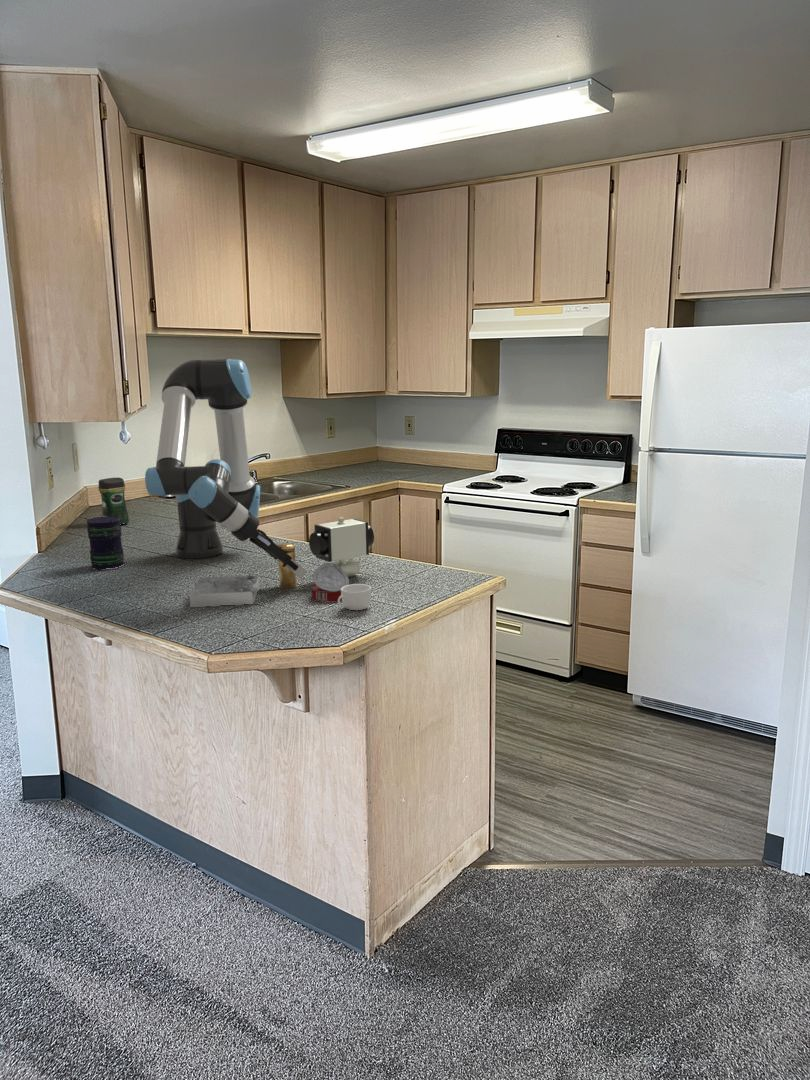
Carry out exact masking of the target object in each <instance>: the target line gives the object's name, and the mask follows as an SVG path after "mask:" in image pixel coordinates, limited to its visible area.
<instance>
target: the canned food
mask: <svg viewBox="0 0 810 1080" xmlns="http://www.w3.org/2000/svg"><path fill="white" fill-rule="evenodd" d="M349 578H350V577H348V576H347V575H346V573H345V572H344V571H343V570H342V568H341V567H339V566H338V565H336V564H331V562H326V563H323V564H321V565H319V566H318V567H317V568H315V570H314V572H313V574H312V582H313V583H314V584H313V585H312V586H311V599H312V598H313V599H312V600H314V601H316V600H317V601H316V602H320V601H336V602H338V598H339V597H340V596H341V588H342V587H343V586H346V585H350V580H349ZM340 600H341V601H342V598H341V599H340Z"/></svg>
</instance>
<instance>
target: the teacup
mask: <svg viewBox="0 0 810 1080" xmlns="http://www.w3.org/2000/svg"><path fill="white" fill-rule="evenodd" d="M341 598H342V600H341V601H340V599H341ZM371 600H372V586H371V585H368V584H365V583H353V584H352V583H351V584H349V585H346V586H343V587H342V588H341V596H340V597H339V598H338V601H337V603H338V605H339V606H341V607H344V608H345V609H347V610H348V609H349V611H351V610H361V611H364V610H366V609H367V608H368V607H369V606H370V604H371ZM341 602H342V603H341ZM363 609H364V610H363Z"/></svg>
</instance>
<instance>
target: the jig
mask: <svg viewBox="0 0 810 1080" xmlns="http://www.w3.org/2000/svg"><path fill="white" fill-rule="evenodd" d="M259 576H260V575H254V574H249V575H241V576H237V575H236V576H215V577H214V576H213V577H212V576H210V577H199V578H198V579H199V580H197V582H196V584H195V585H194V587H193V588H192V589H191V591H190V593H189V594H188V595H189V607H190V608H203V607H206V606H210V607H221V606H220V605H236V606H245V605H244V604H253V605H254V603H255V601H254V600H256V598H257V595H258V593H257V592H259V590H260V579H259ZM255 597H256V598H255ZM253 602H254V603H253ZM242 604H243V605H242ZM206 608H207V607H206Z"/></svg>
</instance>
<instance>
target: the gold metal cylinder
mask: <svg viewBox="0 0 810 1080" xmlns="http://www.w3.org/2000/svg"><path fill="white" fill-rule="evenodd" d="M277 546H278V547H280V548H281V549H282V550H283V551H284V552H286V553H287V554H288V555H289V556H291V557H292V559H293V560H294V561H296V552H295V551H296V549H295V548H296V547H295V543H293V542H292V543H290V542H285V543H284V542H283V543H279V544H277ZM282 565H283V563H282V562H281V561H280V560H279V562H278V576H279V588H280V589H282V590H292V589H296V588H297V575H295V574H294V573H293V572H292V571H291V570H289V569H288V568H287V567H286V566H285V567H283V566H282Z"/></svg>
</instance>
